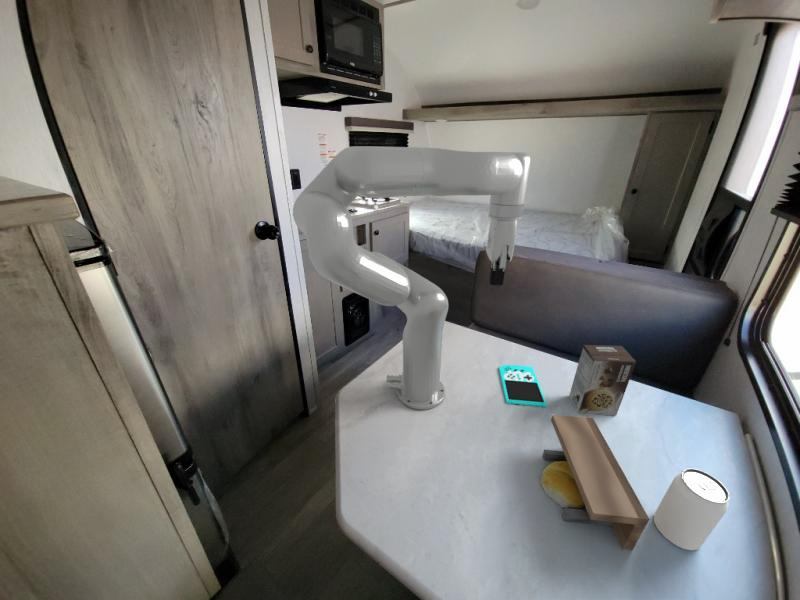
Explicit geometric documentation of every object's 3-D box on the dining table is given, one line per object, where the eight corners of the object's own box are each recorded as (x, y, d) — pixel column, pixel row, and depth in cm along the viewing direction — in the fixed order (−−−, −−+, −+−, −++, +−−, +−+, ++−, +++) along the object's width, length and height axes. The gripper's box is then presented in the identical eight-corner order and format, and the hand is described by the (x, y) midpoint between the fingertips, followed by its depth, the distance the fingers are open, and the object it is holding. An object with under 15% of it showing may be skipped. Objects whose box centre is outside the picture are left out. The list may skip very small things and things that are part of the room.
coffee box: (604, 397, 83) (622, 345, 76) (617, 416, 77) (638, 361, 70) (567, 395, 84) (582, 343, 77) (577, 413, 78) (594, 359, 71)
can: (643, 512, 57) (667, 467, 52) (677, 509, 58) (704, 464, 52) (674, 554, 51) (705, 508, 46) (711, 549, 52) (746, 504, 46)
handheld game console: (532, 369, 94) (533, 365, 94) (547, 409, 80) (548, 405, 80) (497, 366, 96) (498, 363, 95) (506, 405, 81) (507, 401, 81)
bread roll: (597, 489, 61) (603, 475, 60) (575, 520, 56) (581, 506, 54) (555, 459, 67) (559, 446, 65) (532, 485, 62) (536, 471, 60)
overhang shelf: (570, 543, 53) (583, 512, 49) (537, 442, 71) (544, 414, 67) (632, 550, 52) (649, 519, 48) (582, 446, 70) (592, 417, 66)
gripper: (485, 205, 81) (477, 273, 89) (493, 217, 68) (484, 295, 76) (515, 205, 80) (505, 273, 88) (530, 217, 67) (517, 297, 75)
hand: (495, 283), depth 82 cm, fingers closed
